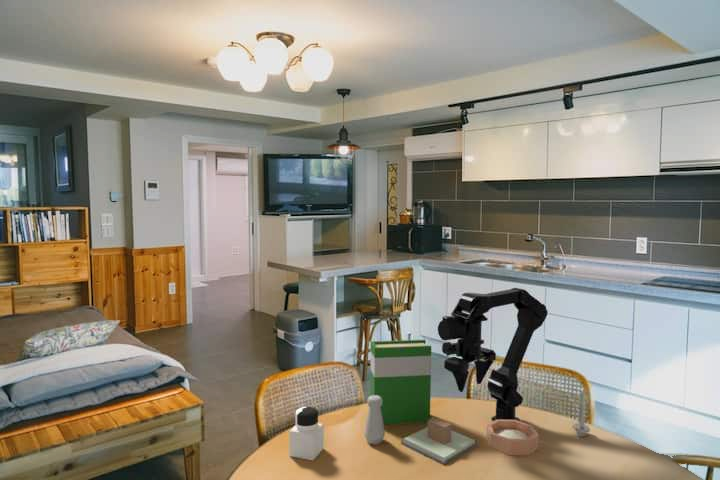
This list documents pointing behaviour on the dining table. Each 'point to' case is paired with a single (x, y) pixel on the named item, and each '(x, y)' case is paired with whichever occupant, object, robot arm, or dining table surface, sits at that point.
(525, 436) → the bowl
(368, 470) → the dining table surface
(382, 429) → the salt shaker
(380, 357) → the hardback book
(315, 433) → the medicine bottle
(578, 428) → the screw
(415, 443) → the lid
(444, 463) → the mat
